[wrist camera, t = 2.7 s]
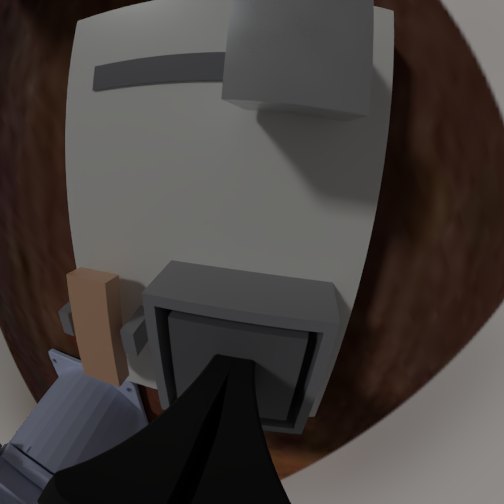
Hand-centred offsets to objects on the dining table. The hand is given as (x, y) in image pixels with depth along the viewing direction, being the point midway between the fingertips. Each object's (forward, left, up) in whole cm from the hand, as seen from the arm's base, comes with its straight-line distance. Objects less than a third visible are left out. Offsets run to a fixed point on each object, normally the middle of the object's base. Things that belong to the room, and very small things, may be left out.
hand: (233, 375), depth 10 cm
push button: (0, 0, -2) cm, 2 cm away
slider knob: (+10, -1, -2) cm, 10 cm away
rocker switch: (0, +6, -1) cm, 6 cm away
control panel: (+4, +2, -4) cm, 6 cm away
